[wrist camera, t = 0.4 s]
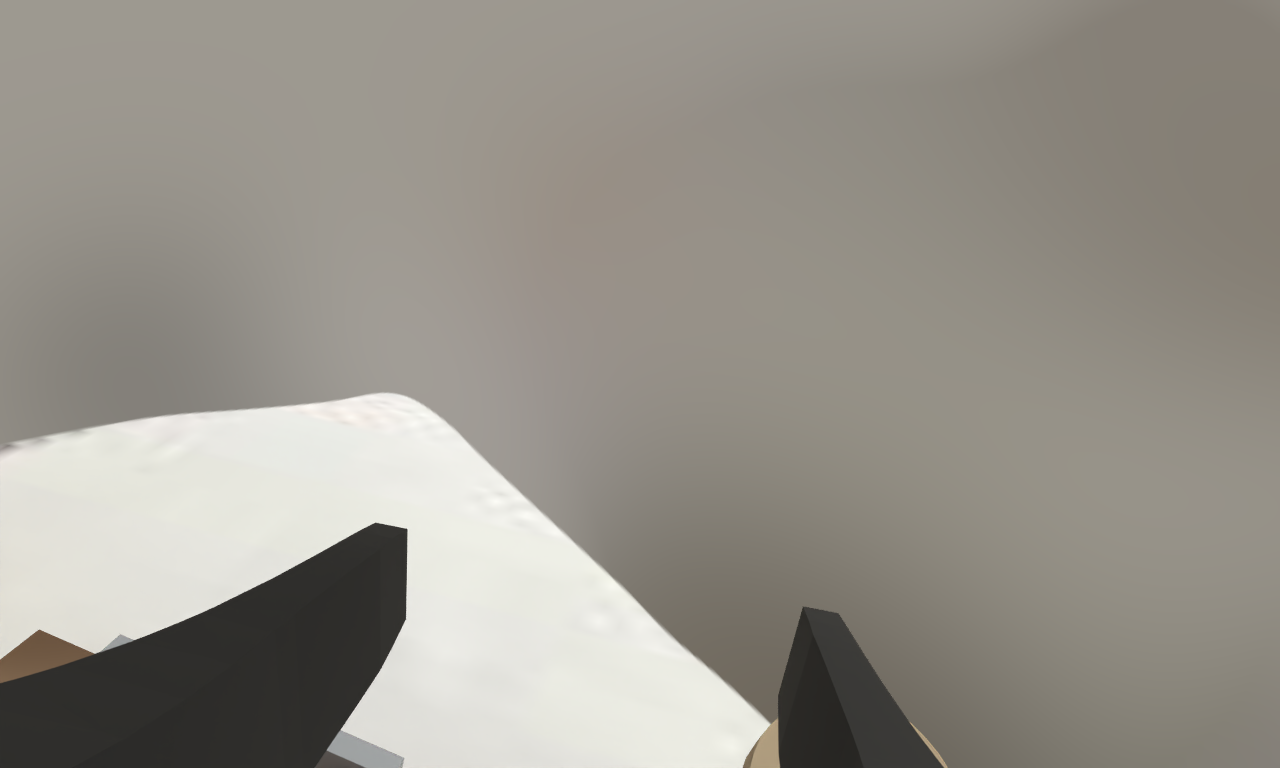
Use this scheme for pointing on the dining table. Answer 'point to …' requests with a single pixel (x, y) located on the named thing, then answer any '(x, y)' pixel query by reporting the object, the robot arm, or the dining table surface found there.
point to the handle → (765, 755)
